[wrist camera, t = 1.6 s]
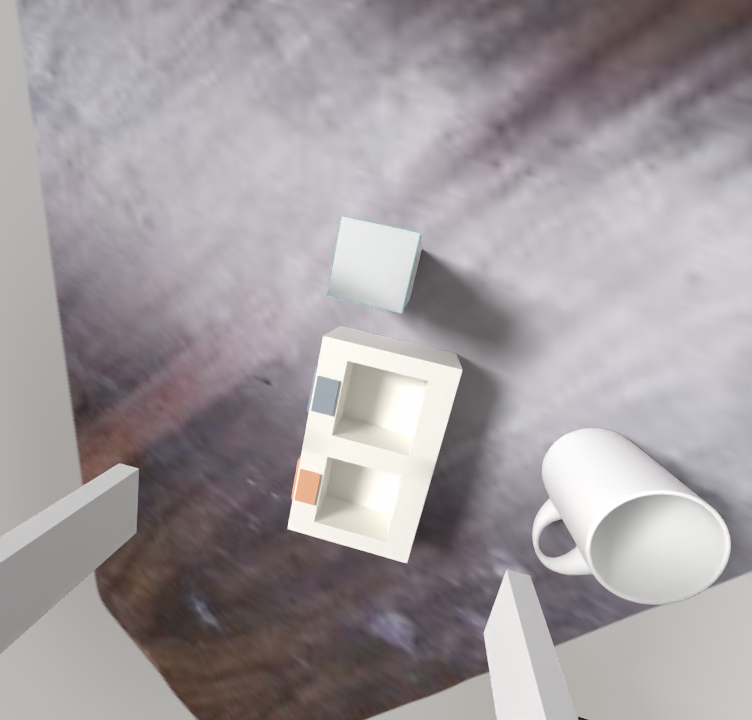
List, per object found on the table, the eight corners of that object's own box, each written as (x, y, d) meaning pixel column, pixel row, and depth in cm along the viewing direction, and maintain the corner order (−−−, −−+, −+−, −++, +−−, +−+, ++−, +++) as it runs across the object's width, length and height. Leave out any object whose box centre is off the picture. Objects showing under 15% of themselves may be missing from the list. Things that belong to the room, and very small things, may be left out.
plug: (371, 237, 32) (341, 215, 21) (422, 248, 32) (421, 232, 20) (361, 289, 33) (326, 296, 22) (410, 300, 33) (401, 313, 22)
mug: (491, 481, 36) (517, 563, 26) (598, 406, 33) (678, 465, 23) (547, 542, 37) (595, 648, 26) (657, 474, 34) (761, 563, 23)
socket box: (337, 325, 34) (318, 335, 28) (456, 353, 34) (463, 370, 28) (305, 490, 39) (283, 529, 33) (409, 519, 38) (406, 565, 32)
